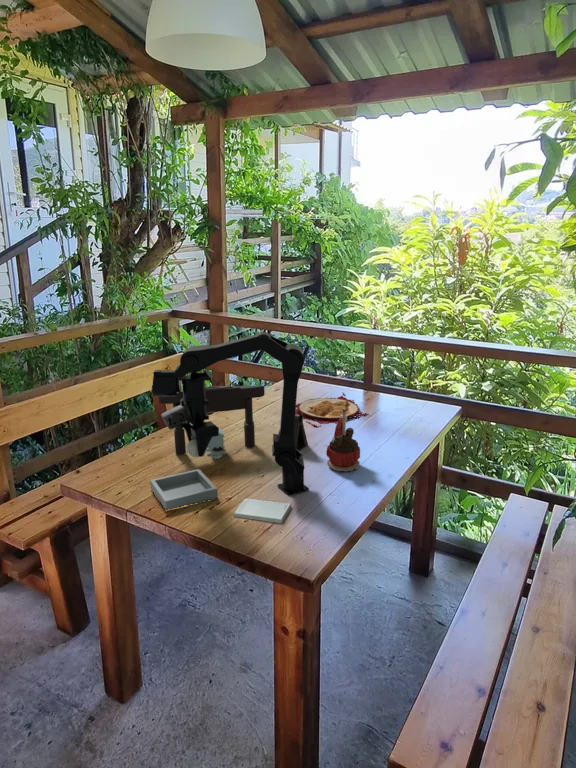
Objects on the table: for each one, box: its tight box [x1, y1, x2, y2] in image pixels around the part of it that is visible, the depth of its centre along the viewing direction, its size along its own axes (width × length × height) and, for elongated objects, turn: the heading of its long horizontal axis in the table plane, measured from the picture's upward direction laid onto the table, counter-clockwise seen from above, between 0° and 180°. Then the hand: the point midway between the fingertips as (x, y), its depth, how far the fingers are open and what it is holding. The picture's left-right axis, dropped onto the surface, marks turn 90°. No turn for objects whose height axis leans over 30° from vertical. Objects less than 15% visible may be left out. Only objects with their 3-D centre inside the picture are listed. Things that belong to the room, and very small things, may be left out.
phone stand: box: [294, 413, 309, 452], centre depth 176 cm, size 9×6×12 cm, turn 147°
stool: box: [158, 385, 265, 460], centre depth 175 cm, size 16×21×33 cm
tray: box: [149, 468, 219, 510], centre depth 147 cm, size 14×14×3 cm
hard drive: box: [233, 498, 292, 524], centre depth 138 cm, size 2×8×12 cm
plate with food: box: [295, 392, 370, 427], centre depth 211 cm, size 25×26×4 cm
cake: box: [325, 409, 361, 472], centre depth 161 cm, size 11×9×18 cm
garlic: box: [186, 437, 208, 458], centre depth 146 cm, size 6×5×5 cm
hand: (196, 451), depth 146 cm, fingers closed on garlic, 6 cm apart
